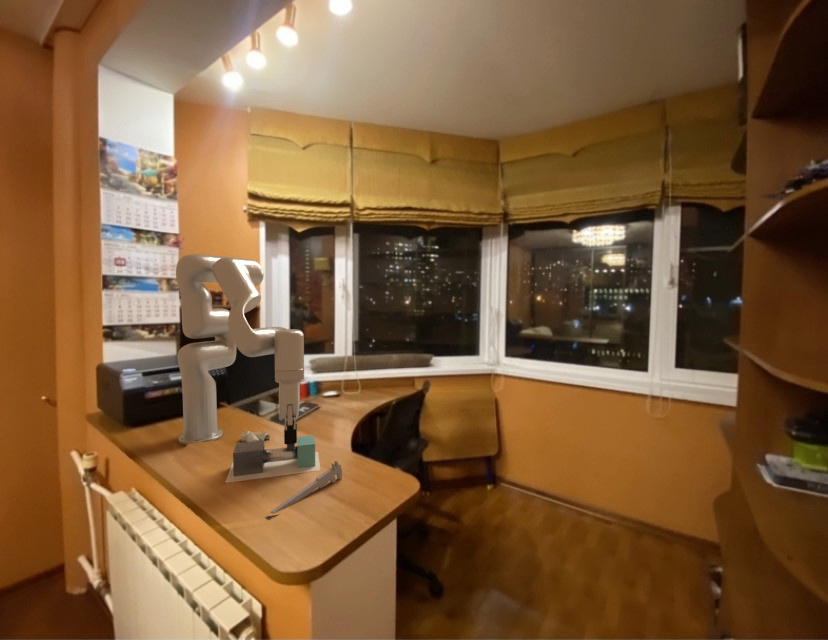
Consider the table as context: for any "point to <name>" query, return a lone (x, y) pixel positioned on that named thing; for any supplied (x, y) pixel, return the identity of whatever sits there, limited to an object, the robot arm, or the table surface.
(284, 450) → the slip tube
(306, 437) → the socket block
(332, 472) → the caliper
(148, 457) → the table surface
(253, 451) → the dark grey block
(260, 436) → the pipe fitting
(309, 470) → the base board
